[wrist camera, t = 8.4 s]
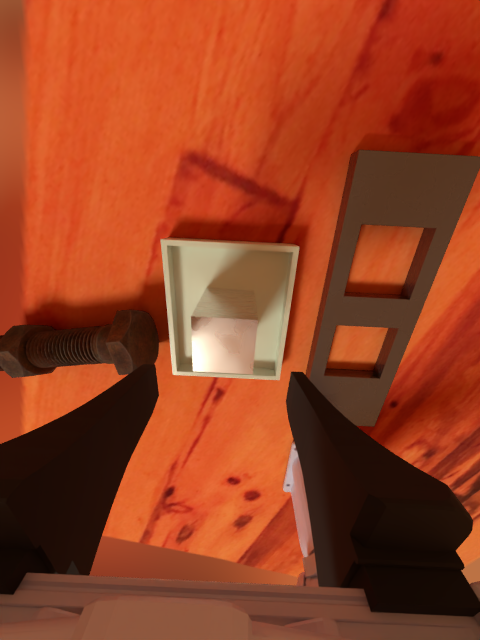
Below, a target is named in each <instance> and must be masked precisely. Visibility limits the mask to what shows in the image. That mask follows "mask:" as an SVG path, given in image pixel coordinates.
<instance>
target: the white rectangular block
mask: <svg viewBox="0 0 480 640" xmlns="http://www.w3.org/2000/svg"><path fill="white" fill-rule="evenodd" d="M257 325H258V316H257V309H256V301H255V294H254V291H253V290H236V289H219V288H206V289H205V291H204V293H203V295H202V297H201V298H200V300H199V302H198V304H197V306H196V308H195V310H194V312H193V313H192V315H191V332H192V358H193V371H198V372H216V373H235V374H253V367H254V357H255V346H256V336H257Z"/></svg>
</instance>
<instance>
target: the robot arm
mask: <svg viewBox="0 0 480 640" xmlns="http://www.w3.org/2000/svg"><path fill="white" fill-rule="evenodd" d="M158 396H159V392H158V384H157V376H156V368H155V365H154V364H143V365H141V366H140V367H138V368H137V369H135V370H134V371H133V372H131V373H130V374H129V375H127V376H126V377H124V378H123V379H122V380H120V381H119V382H117V383H116V384H115V385H113V386H112V387H110V388H109V389H107V390H106V391H104V392H103V393H101V394H100V395H98V396H97V397H95V398H93V399H92V400H90V401H89V402H87V403H85V404H84V405H82V406H80V407H79V408H77V409H75V410H73V411H71V412H69V413H68V414H66V415H64V416H62V417H60V418H58V419H56V420H54V421H52V422H50V423H48V424H46V425H44V426H41V427H39V428H37V429H35V430H33V431H31V432H28V433H26V434H24V435H21V436H19V437H17V438H14V439H12V440H9V441H7V442H4V443H2V444H0V640H480V581H479V582H474V583H471V584H469V583H468V582H467V580H466V578H465V576H464V575H463V573H462V572H461V570H463V569H464V564H463V562H462V560H461V559H460V557H459V556H458V554H457V553H456V549H457V548H458V547H459V546H460V545H461V544H462V543H463V542H464V540H465V539H466V538H467V537H468V536H469V534H470V533H471V531H472V527H473V520H472V518H471V516H470V514H469V513H468V512H467V510H466V509H465V508H464V506H463V505H462V504H461V503H460V501H459V500H458V499H457V497H456V496H455V495H454V493H453V492H452V491H451V489H450V488H449V487H448V486H447V485H446V484H444V483H443V482H441V481H439V480H437V479H436V478H434V477H432V476H430V475H428V474H427V473H425V472H423V471H421V470H420V469H418V468H416V467H414V466H413V465H411V464H409V463H408V462H406V461H405V460H403V459H402V458H400V457H398V456H397V455H395V454H394V453H392V452H391V451H389V450H388V449H386V448H385V447H383V446H382V445H380V444H379V443H378V442H376V441H375V440H374V439H372V438H371V437H369V436H368V435H367V434H365V433H364V432H363V431H362V430H360V429H359V428H358V427H357V426H356V425H354V424H353V423H352V422H351V421H350V420H348V419H347V418H346V417H345V416H344V415H343V414H342V413H341V412H340V411H339V410H338V409H336V408H335V407H334V406H333V405H332V404H331V403H330V402H329V401H328V400H327V399H326V398H325V396H324V395H323V394H322V393H321V392H320V391H319V390H318V389H317V388H316V387H315V385H314V384H313V383H312V382H311V381H310V380H309V379H308V378H307V376H306V375H305V374H304V373H303V372H291V376H290V382H289V387H288V393H287V399H286V404H287V412H288V419H289V423H290V427H291V431H292V435H293V438H294V442H293V443H292V446H291V451H290V456H289V461H288V465H287V470H286V475H285V480H284V484H283V490H284V491H285V492H291V495H292V501H293V507H294V513H295V519H296V525H297V531H298V536H299V542H300V546H301V550H302V553H303V555H304V558H303V565H304V571H305V572H303V573H301V574H300V575H299V577H298V582H297V585H296V586H292V585H271V584H251V583H250V584H249V583H231V582H230V583H229V582H209V581H190V580H189V581H188V580H168V579H148V578H128V577H127V578H126V577H107V576H106V577H105V576H89V574H90V571H91V568H92V565H93V561H94V558H95V555H96V552H97V548H98V546H99V542H100V539H101V536H102V533H103V530H104V528H105V525H106V522H107V519H108V516H109V513H110V510H111V507H112V504H113V502H114V499H115V496H116V493H117V491H118V488H119V485H120V483H121V480H122V478H123V475H124V472H125V470H126V467H127V465H128V462H129V460H130V458H131V456H132V454H133V452H134V450H135V448H136V446H137V444H138V441H139V439H140V437H141V435H142V433H143V431H144V429H145V427H146V425H147V423H148V421H149V419H150V417H151V415H152V413H153V410H154V408H155V405H156V402H157V399H158Z"/></svg>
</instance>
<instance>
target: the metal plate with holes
mask: <svg viewBox="0 0 480 640" xmlns="http://www.w3.org/2000/svg"><path fill="white" fill-rule="evenodd" d="M479 169H480V157H478V156H461V155H443V154H425V153H407V152H389V151H371V150H358V151H357V152H355V153H353V154H351V158H350V163H349V168H348V173H347V177H346V182H345V187H344V192H343V197H342V202H341V206H340V211H339V216H338V221H337V226H336V230H335V235H334V240H333V245H332V250H331V255H330V259H329V264H328V269H327V274H326V279H325V284H324V288H323V293H322V298H321V303H320V308H319V312H318V317H317V322H316V327H315V332H314V337H313V341H312V346H311V351H310V356H309V361H308V365H307V370H306V376H307V378H308V379H309V380H310V381H311V382H312V383H313V384H314V385H315V387H316V388H317V389H318V390H319V391H320V392H321V393H322V394H323V395H324V396H325V398H326V399H327V400H328V401H329V402H330V403H331V404H332V405H333V406H334V407H335V408H336V409H338V410H339V411H340V412H341V413H342V414H343V415H344V416H345V417H346V418H347V419H348V420H350V421H351V422H352V423H353V424H354V425H356V426H375V423H376V421H377V418H378V416H379V413H380V411H381V409H382V406H383V404H384V401H385V399H386V396H387V394H388V391H389V389H390V387H391V384H392V382H393V379H394V377H395V374H396V372H397V369H398V367H399V364H400V362H401V360H402V357H403V355H404V352H405V350H406V347H407V345H408V342H409V340H410V338H411V335H412V333H413V330H414V328H415V325H416V323H417V320H418V318H419V315H420V313H421V311H422V308H423V306H424V303H425V301H426V298H427V296H428V293H429V291H430V289H431V286H432V284H433V281H434V279H435V276H436V274H437V271H438V269H439V266H440V264H441V262H442V259H443V257H444V254H445V252H446V249H447V247H448V244H449V242H450V240H451V237H452V235H453V232H454V230H455V227H456V225H457V222H458V220H459V218H460V215H461V213H462V210H463V208H464V205H465V203H466V200H467V198H468V195H469V193H470V191H471V188H472V186H473V183H474V181H475V178H476V176H477V173H478V171H479ZM361 224H367V225H386V226H404V227H423V228H424V230H423V233H422V236H421V239H420V242H419V244H418V247H417V250H416V253H415V256H414V259H413V261H412V264H411V267H410V270H409V273H408V275H407V278H406V281H405V284H404V287H403V289H402V292H401V295H389V294H370V293H351V292H345V288H346V284H347V280H348V276H349V272H350V268H351V264H352V260H353V256H354V252H355V248H356V244H357V240H358V236H359V232H360V228H361ZM336 325H345V326H364V327H384V328H389V329H388V331H387V334H386V337H385V340H384V343H383V346H382V348H381V351H380V354H379V357H378V360H377V362H376V365H375V368H374V371H364V370H344V369H326V365H327V361H328V357H329V353H330V349H331V345H332V341H333V337H334V333H335V329H336Z"/></svg>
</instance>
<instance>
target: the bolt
mask: <svg viewBox="0 0 480 640" xmlns="http://www.w3.org/2000/svg"><path fill="white" fill-rule="evenodd" d="M158 351H159V339H158V333H157V329H156V325H155V323H154V321H153V319H152V318H151V317H150V315H149V314H148V313H147V312H144V311H138V310H122V311H117V313H116V315H115V318H114V321H113V323H112V324H108V325H105V326H97V327H87V328H76V329H65V330H54V329H53V328H52V327H51V326H43V325H19V326H13V327H12V328H10V329H9V330H8V331H7V332H6V333H5V335H1V336H0V371H5V372H6V373H7V374H8V375H10V376H11V377H12V378H13V377H14V378H15V377H27V376H35V375H41V374H48V373H52V372H53V371H54V370H55V368H56V367H61V366H73V365H84V364H102V363H108V364H114V365H115V367H116V369H117V372H118V374H119V375H125V374H130V373H131V372H133V371H134V370H135V369H137V368H138V367H140V366H141V365H143V364H154V363H155V361H156V359H157V357H158Z"/></svg>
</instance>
